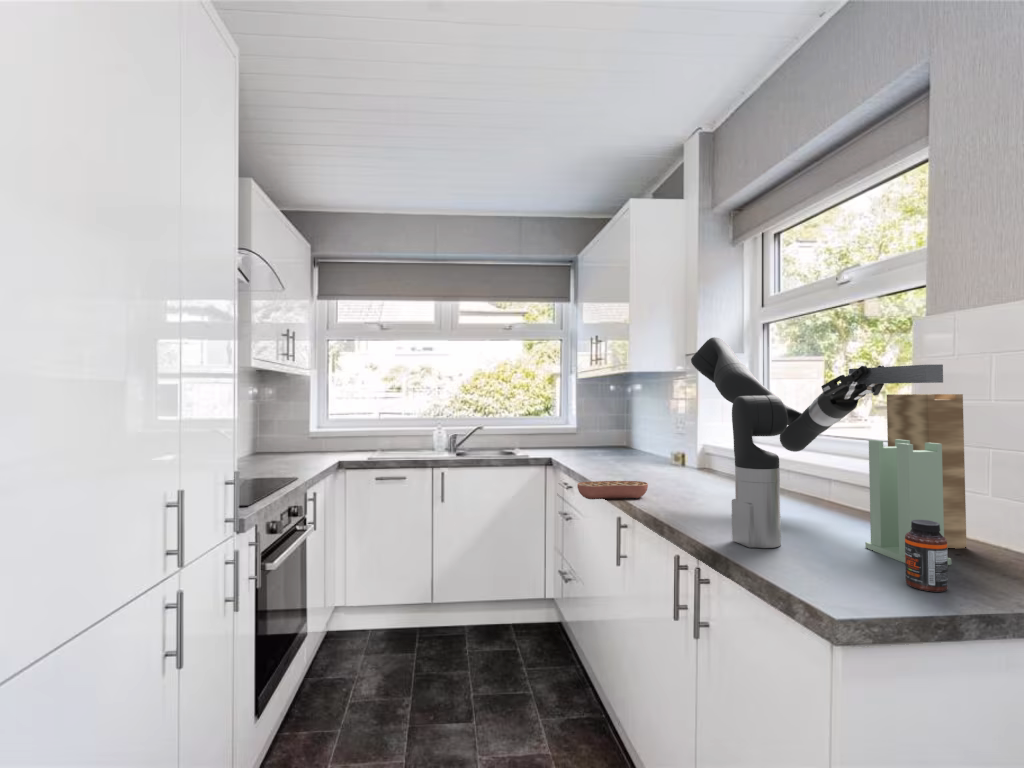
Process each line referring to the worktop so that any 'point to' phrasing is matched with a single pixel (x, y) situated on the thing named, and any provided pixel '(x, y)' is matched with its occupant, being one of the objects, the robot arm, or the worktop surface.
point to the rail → (903, 374)
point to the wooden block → (943, 425)
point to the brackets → (903, 493)
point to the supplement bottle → (926, 557)
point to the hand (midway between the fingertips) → (874, 369)
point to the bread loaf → (612, 489)
